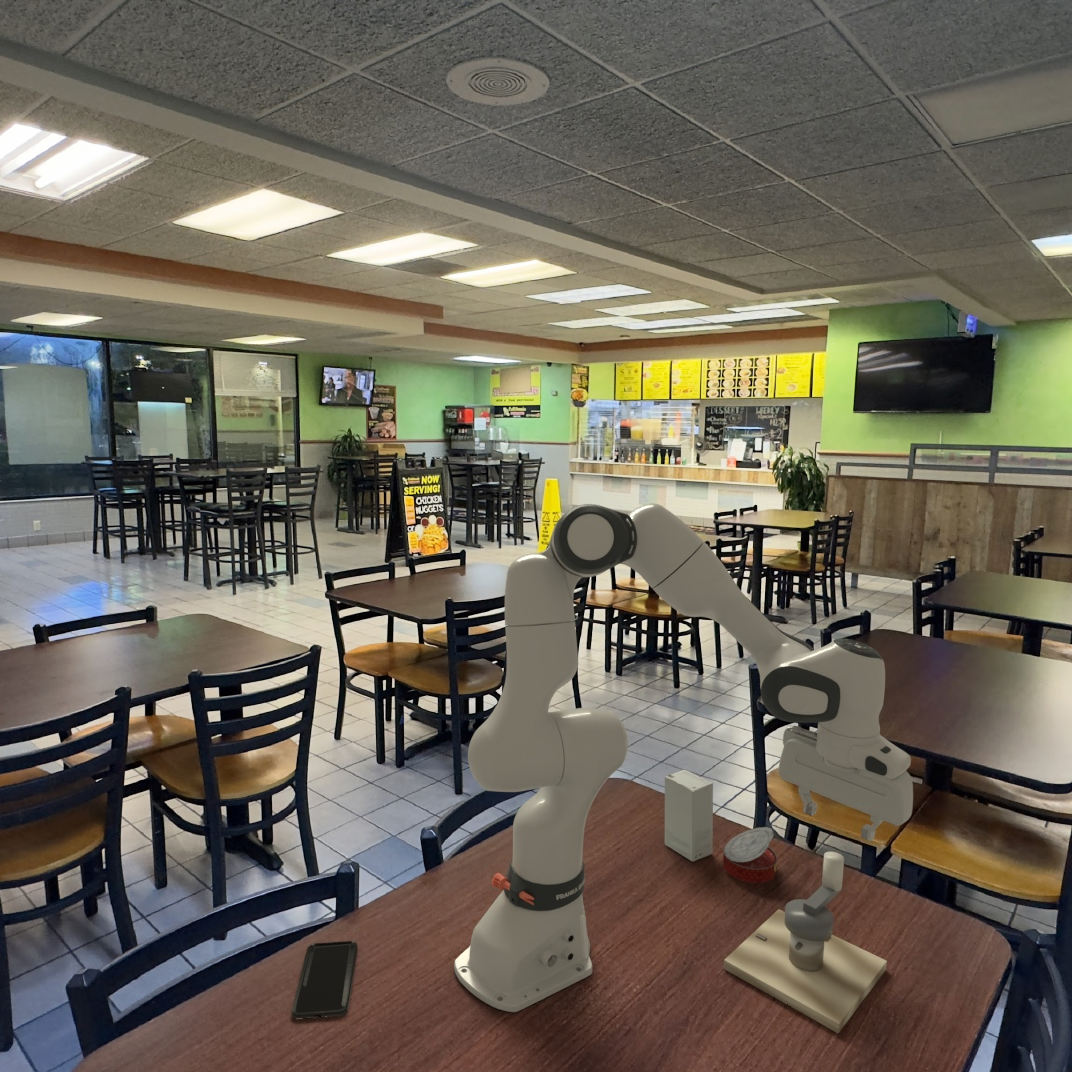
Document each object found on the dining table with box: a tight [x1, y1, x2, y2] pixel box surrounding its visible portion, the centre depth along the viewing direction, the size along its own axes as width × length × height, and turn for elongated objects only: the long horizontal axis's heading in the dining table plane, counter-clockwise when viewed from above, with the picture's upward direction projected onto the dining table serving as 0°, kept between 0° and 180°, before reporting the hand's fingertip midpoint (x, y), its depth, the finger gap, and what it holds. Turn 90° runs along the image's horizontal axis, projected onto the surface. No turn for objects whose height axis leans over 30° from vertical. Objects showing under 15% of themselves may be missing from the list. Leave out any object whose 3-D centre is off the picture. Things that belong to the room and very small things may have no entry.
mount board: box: [723, 909, 888, 1034], centre depth 118 cm, size 18×18×7 cm
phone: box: [291, 940, 358, 1019], centre depth 115 cm, size 8×1×15 cm
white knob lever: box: [784, 851, 845, 941], centre depth 119 cm, size 7×13×8 cm, turn 135°
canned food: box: [722, 826, 778, 884], centre depth 145 cm, size 11×10×10 cm
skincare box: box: [664, 769, 714, 862], centre depth 151 cm, size 8×6×15 cm
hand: (837, 825), depth 121 cm, fingers open, 8 cm apart
